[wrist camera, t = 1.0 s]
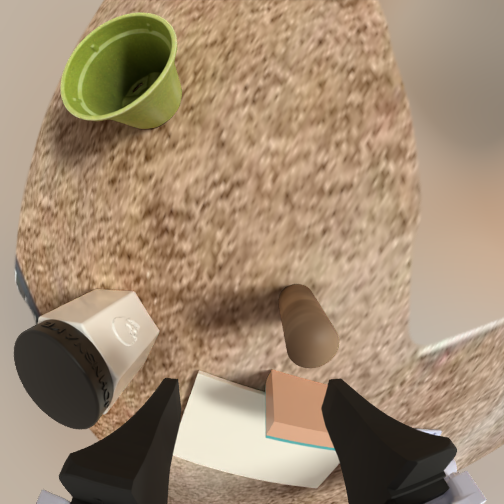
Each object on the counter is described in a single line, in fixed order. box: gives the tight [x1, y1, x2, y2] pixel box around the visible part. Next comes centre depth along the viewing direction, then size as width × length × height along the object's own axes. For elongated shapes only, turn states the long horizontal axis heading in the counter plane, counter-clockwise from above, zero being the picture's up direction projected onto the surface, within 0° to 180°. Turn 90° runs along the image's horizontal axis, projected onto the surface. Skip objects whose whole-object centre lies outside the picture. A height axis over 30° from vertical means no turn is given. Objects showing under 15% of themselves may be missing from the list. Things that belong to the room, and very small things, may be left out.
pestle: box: [279, 284, 339, 368], centre depth 21 cm, size 3×3×9 cm
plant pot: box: [61, 13, 182, 129], centre depth 19 cm, size 9×9×9 cm
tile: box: [265, 369, 335, 451], centre depth 22 cm, size 7×2×8 cm, turn 70°
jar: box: [14, 289, 159, 429], centre depth 20 cm, size 9×8×12 cm
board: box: [173, 370, 340, 488], centre depth 27 cm, size 20×14×1 cm
